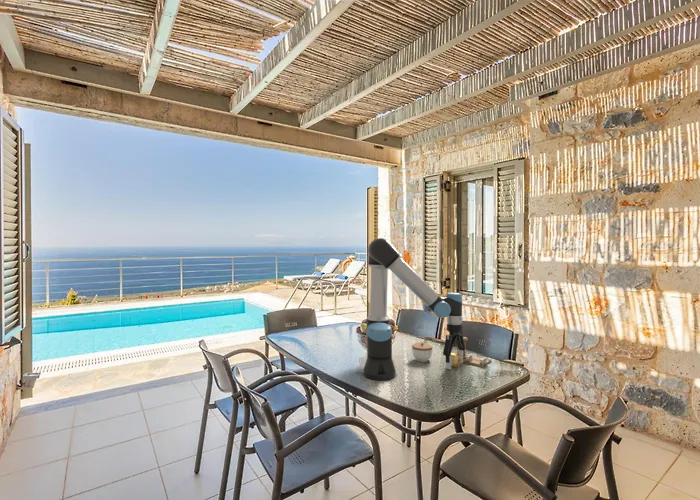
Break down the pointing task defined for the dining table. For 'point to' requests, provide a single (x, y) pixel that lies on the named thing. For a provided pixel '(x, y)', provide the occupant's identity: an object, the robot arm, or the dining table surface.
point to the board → (476, 360)
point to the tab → (455, 360)
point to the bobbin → (465, 348)
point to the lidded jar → (422, 352)
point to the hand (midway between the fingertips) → (454, 365)
